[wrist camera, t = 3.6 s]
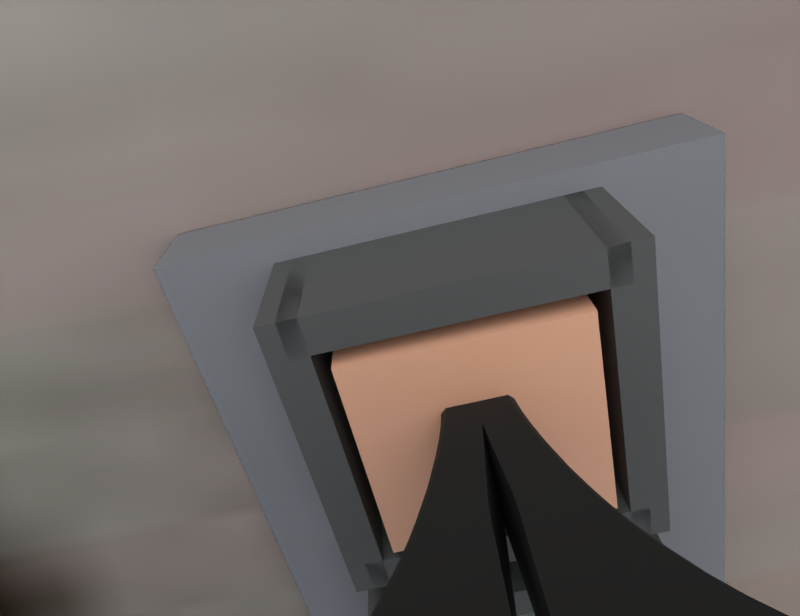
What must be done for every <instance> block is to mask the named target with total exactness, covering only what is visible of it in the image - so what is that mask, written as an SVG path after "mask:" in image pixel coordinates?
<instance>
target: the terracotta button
mask: <svg viewBox="0 0 800 616" xmlns="http://www.w3.org/2000/svg"><path fill="white" fill-rule="evenodd" d="M331 371H332V374H333V377H334V379H335V382H336V385H337V388H338V391H339V394H340V397H341V400H342V403H343V406H344V409H345V412H346V415H347V418H348V421H349V424H350V427H351V429H352V432H353V435H354V438H355V441H356V444H357V447H358V450H359V453H360V456H361V459H362V462H363V465H364V468H365V471H366V474H367V477H368V480H369V482H370V485H371V488H372V491H373V494H374V497H375V500H376V503H377V506H378V509H379V512H380V515H381V518H382V521H383V524H384V527H385V530H386V532H387V535H388V538H389V541H390V544H391V547H392V550H393V553H395V552H400V551H404V549H405V547H406V544H407V542H408V540H409V537H410V535H411V532H412V530H413V527H414V525H415V522H416V519H417V516H418V513H419V511H420V508H421V505H422V502H423V499H424V496H425V493H426V490H427V487H428V483H429V479H430V476H431V472H432V468H433V464H434V460H435V456H436V451H437V447H438V441H439V435H440V427H441V414H442V412H443V411H444V410H445V408H449V407H453V406H458V405H463V404H467V403H472V402H477V401H481V400H486V399H491V398H495V397H500V396H505V395H509V396H511V397H513V398H514V399H515V400H516V402H517V404H518V405H519V407H520V409H521V410H522V412H523V413H524V414H525V416H526V417H527V418H528V420H529V421H530V422H531V424H532V425H533V426H534V427H535V429H536V430H537V431H538V432H539V434H540V435H541V436H542V437H543V438H544V440H545V441H546V442H547V443H548V444H549V445H550V446H551V447H552V449H553V450H554V451H555V452H556V453H557V454H558V455H559V456H560V457H561V458H562V459H563V460H564V461H565V462H566V464H567V465H568V466H569V467H570V468H571V469H572V470H573V471H574V472H575V473H576V474H577V475H578V476H580V477H581V478H582V479H583V480H584V481H585V482H586V483H587V484H588V485H589V486H590V487H591V488H592V489H593V490H595V491H596V492H597V493H598V494H599V495H600V496H601V497H602V498H604V499H605V500H606V501H607V502H608V503H609V504H611V505H612V506H613V507H614V508H615V509H617V508H618V505H617V496H616V486H615V476H614V467H613V457H612V447H611V437H610V428H609V418H608V408H607V399H606V389H605V379H604V370H603V360H602V350H601V340H600V331H599V321H598V311H597V309H596V308H595V306H594V305H593V303H592V302H591V300H590V299H589V297H588V296H587V294H586V295H581V296H577V297H572V298H568V299H563V300H559V301H555V302H550V303H546V304H541V305H537V306H532V307H528V308H523V309H519V310H514V311H510V312H505V313H501V314H496V315H492V316H487V317H483V318H478V319H474V320H469V321H465V322H460V323H456V324H451V325H447V326H442V327H438V328H434V329H429V330H425V331H420V332H416V333H411V334H407V335H402V336H398V337H393V338H389V339H384V340H380V341H375V342H371V343H366V344H362V345H357V346H353V347H348V348H344V349H339V350H335V351H333V355H332V365H331ZM505 531H506V529H505Z"/></svg>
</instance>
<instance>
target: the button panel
mask: <svg viewBox="0 0 800 616" xmlns="http://www.w3.org/2000/svg"><path fill="white" fill-rule="evenodd" d="M153 270H154V272H155V274H156V276H157V278H158V281H159V283H160V285H161V287H162V289H163V291H164V294H165V296H166V298H167V300H168V302H169V305H170V307H171V309H172V311H173V313H174V316H175V318H176V320H177V322H178V324H179V327H180V329H181V331H182V333H183V335H184V338H185V340H186V342H187V344H188V346H189V349H190V351H191V353H192V355H193V357H194V360H195V362H196V364H197V366H198V368H199V371H200V373H201V375H202V377H203V379H204V382H205V384H206V386H207V388H208V390H209V393H210V395H211V397H212V399H213V401H214V404H215V406H216V408H217V410H218V412H219V415H220V417H221V419H222V421H223V423H224V426H225V428H226V430H227V432H228V434H229V437H230V439H231V441H232V443H233V445H234V448H235V450H236V452H237V454H238V456H239V459H240V461H241V463H242V465H243V467H244V470H245V472H246V474H247V476H248V478H249V481H250V483H251V485H252V487H253V489H254V492H255V494H256V496H257V498H258V500H259V503H260V505H261V507H262V509H263V511H264V514H265V516H266V518H267V520H268V522H269V525H270V527H271V529H272V531H273V533H274V536H275V538H276V540H277V542H278V544H279V547H280V549H281V551H282V553H283V555H284V558H285V560H286V562H287V564H288V566H289V569H290V571H291V573H292V575H293V577H294V580H295V582H296V584H297V586H298V588H299V591H300V593H301V595H302V597H303V599H304V602H305V604H306V606H307V608H308V610H309V613H310V615H311V616H370V615H371V613H372V611H373V610H374V608H375V606H376V604H377V603H378V601H379V599H380V597H381V596H382V594H383V592H384V590H385V588H386V586H387V584H388V582H389V580H390V578H391V576H392V574H393V572H394V570H395V569H396V566H397V564H398V562H399V560H400V558H401V556H402V553H403V551H400V552H395V553H393V550H392V547H391V544H390V541H389V538H388V535H387V532H386V530H385V527H384V524H383V521H382V518H381V515H380V512H379V509H378V506H377V503H376V500H375V497H374V494H373V491H372V488H371V485H370V482H369V480H368V477H367V474H366V471H365V468H364V465H363V462H362V459H361V456H360V453H359V450H358V447H357V444H356V441H355V438H354V435H353V432H352V429H351V427H350V424H349V421H348V418H347V415H346V412H345V409H344V406H343V403H342V400H341V397H340V394H339V391H338V388H337V385H336V382H335V379H334V377H333V374H332V371H331V365H332V355H333V351H335V350H339V349H344V348H348V347H353V346H357V345H362V344H366V343H371V342H375V341H380V340H384V339H389V338H393V337H398V336H402V335H407V334H411V333H416V332H420V331H425V330H429V329H434V328H438V327H442V326H447V325H451V324H456V323H460V322H465V321H469V320H474V319H478V318H483V317H487V316H492V315H496V314H501V313H505V312H510V311H514V310H519V309H523V308H528V307H532V306H537V305H541V304H546V303H550V302H555V301H559V300H563V299H568V298H572V297H577V296H581V295H586V294H587V296H588V297H589V299H590V300H591V302H592V303H593V305H594V306H595V308H596V309H597V311H598V321H599V331H600V340H601V350H602V360H603V370H604V379H605V389H606V399H607V408H608V418H609V428H610V437H611V447H612V457H613V467H614V476H615V486H616V496H617V505H618V508H617V510H618V511H619V512H620V513H622V514H623V515H624V516H625V517H627V518H628V519H629V520H630V521H632V522H633V523H634V524H636V525H637V526H638V527H640V528H641V529H642V530H644V531H645V532H647V533H648V534H649V535H651V536H652V537H653V538H655V539H656V540H658V541H659V542H660V543H662V544H663V545H665V546H667V547H668V548H670V549H671V550H673V551H674V552H676V553H677V554H679V555H680V556H682V557H684V558H685V559H687V560H688V561H690V562H691V563H693V564H694V565H696V566H697V567H699V568H701V569H702V570H704V571H705V572H707V573H708V574H710V575H712V576H714V577H715V578H717V579H719V580H721V581H722V582H724V420H725V133H724V132H722V131H720V130H717V129H715V128H713V127H711V126H709V125H707V124H705V123H702V122H700V121H698V120H696V119H694V118H692V117H689V116H687V115H685V114H683V113H681V114H677V115H673V116H669V117H664V118H660V119H656V120H652V121H648V122H644V123H640V124H635V125H631V126H627V127H623V128H619V129H615V130H610V131H606V132H602V133H598V134H594V135H590V136H586V137H581V138H577V139H573V140H569V141H565V142H561V143H556V144H552V145H548V146H544V147H540V148H536V149H532V150H527V151H523V152H519V153H515V154H511V155H507V156H502V157H498V158H494V159H490V160H486V161H482V162H478V163H473V164H469V165H465V166H461V167H457V168H453V169H448V170H444V171H440V172H436V173H432V174H428V175H424V176H419V177H415V178H411V179H407V180H403V181H399V182H394V183H390V184H386V185H382V186H378V187H374V188H370V189H365V190H361V191H357V192H353V193H349V194H345V195H340V196H336V197H332V198H328V199H324V200H320V201H316V202H311V203H307V204H303V205H299V206H295V207H291V208H286V209H282V210H278V211H274V212H270V213H266V214H261V215H257V216H253V217H249V218H245V219H241V220H237V221H232V222H228V223H224V224H220V225H216V226H212V227H207V228H203V229H199V230H195V231H191V232H187V233H183V234H178V235H177V237H176V238H175V240H174V241H173V242H172V244H171V245H170V246H169V248H168V249H167V251H166V252H165V253H164V255H163V256H162V257H161V259H160V260H159V262H158V263H157V264H156V266H155V267H154V268H153ZM506 538H507V546H508V553H509V561H510V568H511V576H512V584H513V591H514V599H515V606H516V614H517V615H522V614H528V613H533V612H534V611H533V608H532V605H531V602H530V599H529V596H528V593H527V590H526V587H525V584H524V582H523V579H522V576H521V573H520V570H519V567H518V564H517V561H516V558H515V555H514V552H513V549H512V547H511V544H510V541H509V538H508V535H507V532H506Z"/></svg>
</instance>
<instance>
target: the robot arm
mask: <svg viewBox="0 0 800 616" xmlns="http://www.w3.org/2000/svg"><path fill="white" fill-rule="evenodd" d="M505 529H506V531H505ZM506 532H507V535H508V538H509V541H510V544H511V547H512V549H513V552H514V555H515V558H516V561H517V564H518V567H519V570H520V573H521V576H522V579H523V582H524V584H525V587H526V590H527V593H528V596H529V599H530V602H531V605H532V608H533V611H534V613H535V616H788V615H786V614H784V613H782V612H780V611H778V610H776V609H774V608H772V607H770V606H767V605H765V604H763V603H761V602H759V601H757V600H755V599H753V598H751V597H749V596H747V595H745V594H743V593H742V592H740V591H738V590H736V589H735V588H733V587H731V586H729V585H728V584H726V583H724V582H722V581H721V580H719V579H717V578H715V577H714V576H712V575H710V574H708V573H707V572H705V571H704V570H702V569H701V568H699V567H697V566H696V565H694V564H693V563H691V562H690V561H688V560H687V559H685V558H684V557H682V556H680V555H679V554H677V553H676V552H674V551H673V550H671V549H670V548H668V547H667V546H665V545H663V544H662V543H660V542H659V541H658V540H656V539H655V538H653V537H652V536H651V535H649V534H648V533H647V532H645V531H644V530H642V529H641V528H640V527H638V526H637V525H636V524H634V523H633V522H632V521H630V520H629V519H628V518H627V517H625V516H624V515H623V514H622V513H620V512H619V511H618V510H617V509H615V508H614V507H613V506H612V505H611V504H609V503H608V502H607V501H606V500H605V499H604V498H602V497H601V496H600V495H599V494H598V493H597V492H596V491H595V490H593V489H592V488H591V487H590V486H589V485H588V484H587V483H586V482H585V481H584V480H583V479H582V478H581V477H580V476H578V475H577V474H576V473H575V472H574V471H573V470H572V469H571V468H570V467H569V466H568V465H567V464H566V462H565V461H564V460H563V459H562V458H561V457H560V456H559V455H558V454H557V453H556V452H555V451H554V450H553V449H552V447H551V446H550V445H549V444H548V443H547V442H546V441H545V440H544V438H543V437H542V436H541V435H540V434H539V432H538V431H537V430H536V429H535V427H534V426H533V425H532V424H531V422H530V421H529V420H528V418H527V417H526V416H525V414H524V413H523V412H522V410H521V409H520V407H519V405H518V404H517V402H516V400H515V399H514V398H513V397H511V396H509V395H505V396H500V397H495V398H491V399H486V400H481V401H477V402H472V403H467V404H463V405H458V406H453V407H449V408H445V410H444V411H443V412H442V414H441V427H440V435H439V441H438V447H437V451H436V456H435V460H434V464H433V468H432V472H431V476H430V479H429V483H428V487H427V490H426V493H425V496H424V499H423V502H422V505H421V508H420V511H419V513H418V516H417V519H416V522H415V525H414V527H413V530H412V532H411V535H410V537H409V540H408V542H407V544H406V547H405V549H404V551H403V553H402V556H401V558H400V560H399V562H398V564H397V566H396V569H395V570H394V572H393V574H392V576H391V578H390V580H389V582H388V584H387V586H386V588H385V590H384V592H383V594H382V596H381V597H380V599H379V601H378V603H377V604H376V606H375V608H374V610H373V611H372V613H371V615H370V616H517V614H516V606H515V599H514V591H513V584H512V576H511V568H510V561H509V553H508V546H507V538H506Z"/></svg>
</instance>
